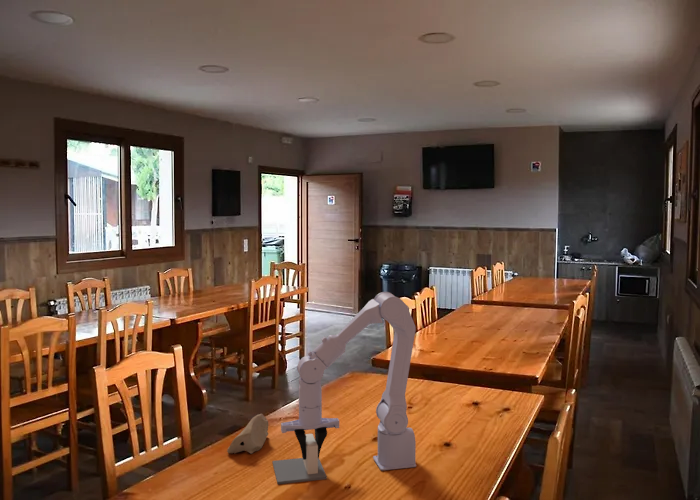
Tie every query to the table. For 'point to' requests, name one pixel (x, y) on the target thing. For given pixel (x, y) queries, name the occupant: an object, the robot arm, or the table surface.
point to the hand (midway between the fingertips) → (310, 457)
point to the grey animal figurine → (251, 436)
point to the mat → (295, 471)
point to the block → (311, 455)
